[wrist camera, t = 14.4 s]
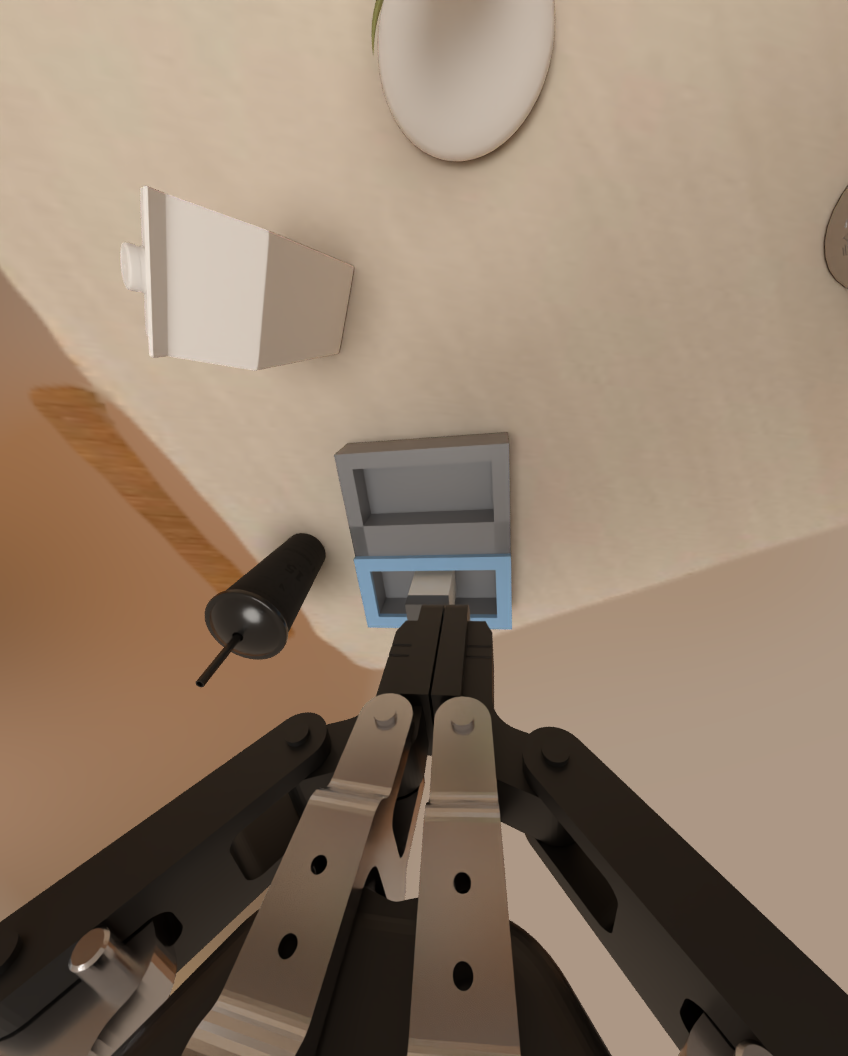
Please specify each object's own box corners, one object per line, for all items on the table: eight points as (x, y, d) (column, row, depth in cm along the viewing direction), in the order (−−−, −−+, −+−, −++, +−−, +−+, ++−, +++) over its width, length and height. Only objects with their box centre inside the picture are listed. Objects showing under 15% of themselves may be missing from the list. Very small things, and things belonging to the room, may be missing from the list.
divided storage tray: (507, 432, 38) (509, 445, 34) (509, 602, 47) (511, 629, 43) (347, 443, 41) (331, 456, 37) (378, 602, 50) (368, 627, 46)
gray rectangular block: (453, 560, 44) (447, 604, 37) (456, 589, 46) (450, 638, 39) (418, 560, 45) (405, 604, 38) (422, 589, 47) (410, 637, 40)
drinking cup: (320, 588, 50) (229, 732, 33) (266, 556, 49) (141, 686, 32) (348, 546, 47) (262, 681, 29) (290, 510, 46) (165, 628, 28)
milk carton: (355, 266, 34) (224, 212, 17) (339, 354, 37) (217, 379, 21) (275, 239, 34) (65, 158, 17) (266, 329, 37) (84, 335, 21)
